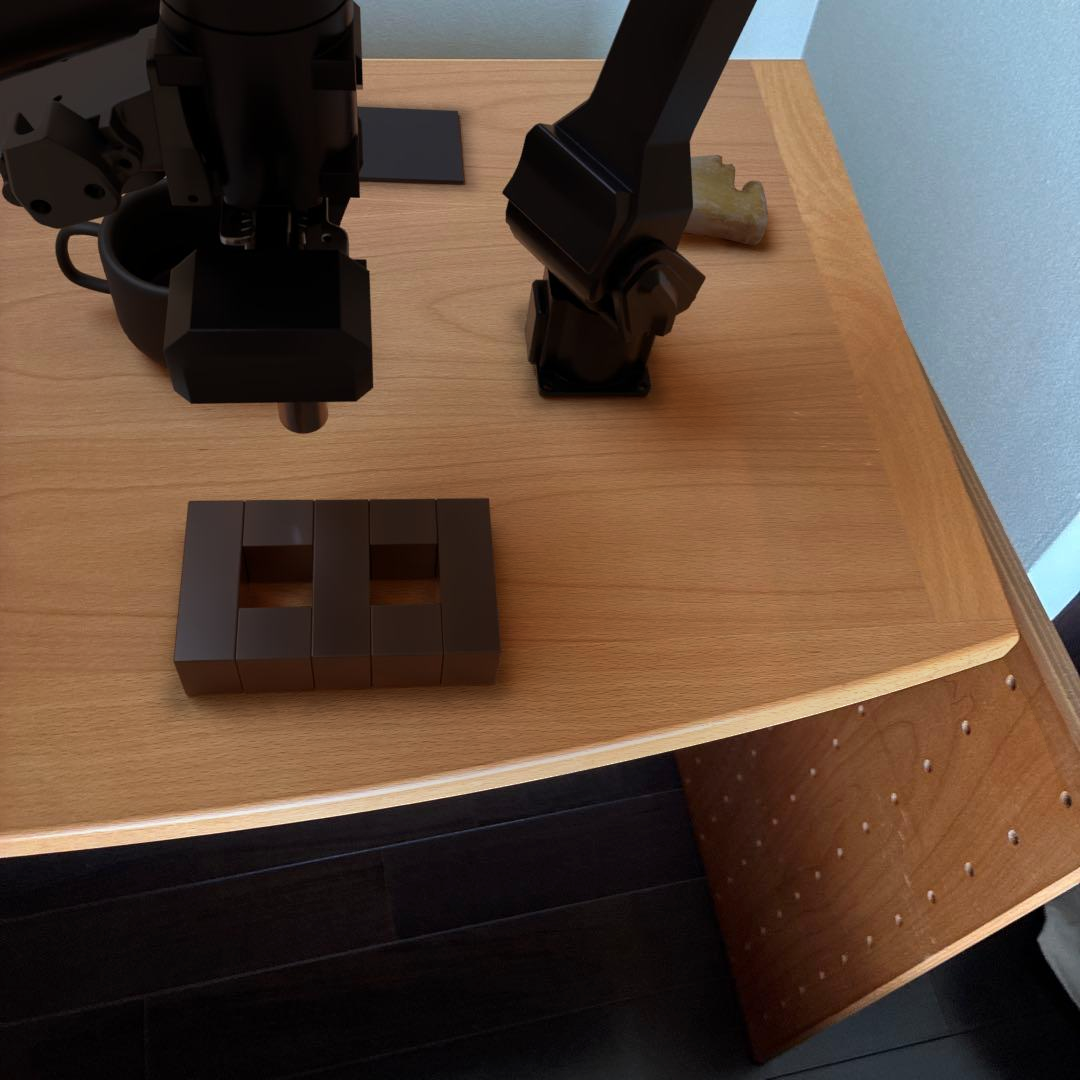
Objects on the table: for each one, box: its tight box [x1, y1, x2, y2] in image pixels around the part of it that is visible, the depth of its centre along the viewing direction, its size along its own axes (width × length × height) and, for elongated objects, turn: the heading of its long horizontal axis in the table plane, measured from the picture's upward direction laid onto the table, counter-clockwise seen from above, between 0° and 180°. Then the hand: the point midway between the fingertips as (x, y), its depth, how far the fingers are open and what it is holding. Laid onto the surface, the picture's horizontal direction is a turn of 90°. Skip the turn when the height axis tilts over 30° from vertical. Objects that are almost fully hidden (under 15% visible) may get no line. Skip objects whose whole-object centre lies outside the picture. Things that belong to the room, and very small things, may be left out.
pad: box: [357, 105, 465, 185], centre depth 72 cm, size 7×7×1 cm
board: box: [172, 497, 502, 696], centre depth 52 cm, size 14×8×4 cm, turn 95°
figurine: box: [684, 154, 769, 246], centre depth 69 cm, size 5×5×15 cm
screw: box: [276, 402, 329, 435], centre depth 46 cm, size 4×4×8 cm
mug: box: [54, 177, 256, 369], centre depth 59 cm, size 12×9×7 cm
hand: (295, 338), depth 45 cm, fingers closed on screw, 4 cm apart
